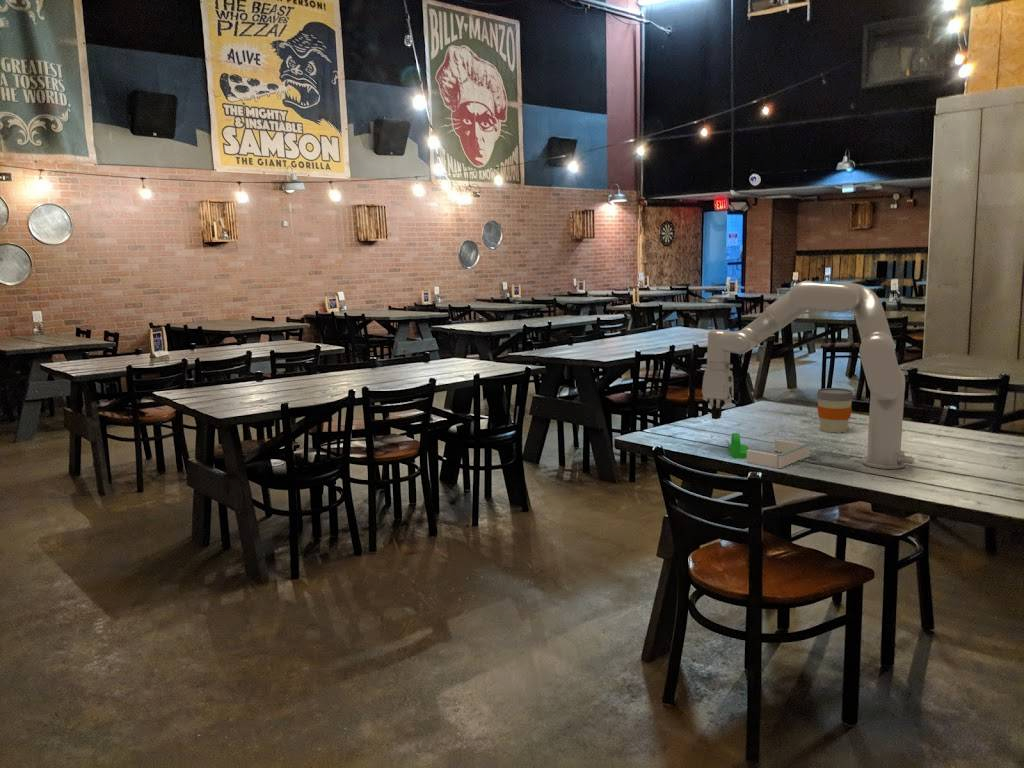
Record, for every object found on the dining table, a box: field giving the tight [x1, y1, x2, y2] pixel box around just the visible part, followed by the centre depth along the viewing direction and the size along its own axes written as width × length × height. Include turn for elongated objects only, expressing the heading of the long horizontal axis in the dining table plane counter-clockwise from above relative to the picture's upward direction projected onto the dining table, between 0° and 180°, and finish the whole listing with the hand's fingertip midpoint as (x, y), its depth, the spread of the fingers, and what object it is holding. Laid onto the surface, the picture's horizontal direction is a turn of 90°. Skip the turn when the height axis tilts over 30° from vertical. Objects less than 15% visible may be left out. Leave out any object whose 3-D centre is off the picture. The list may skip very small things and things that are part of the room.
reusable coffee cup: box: [816, 387, 854, 433], centre depth 294 cm, size 13×12×15 cm
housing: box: [746, 439, 811, 469], centre depth 257 cm, size 12×19×4 cm, turn 134°
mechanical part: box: [727, 432, 751, 459], centre depth 266 cm, size 12×6×8 cm, turn 174°
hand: (716, 418), depth 273 cm, fingers closed
